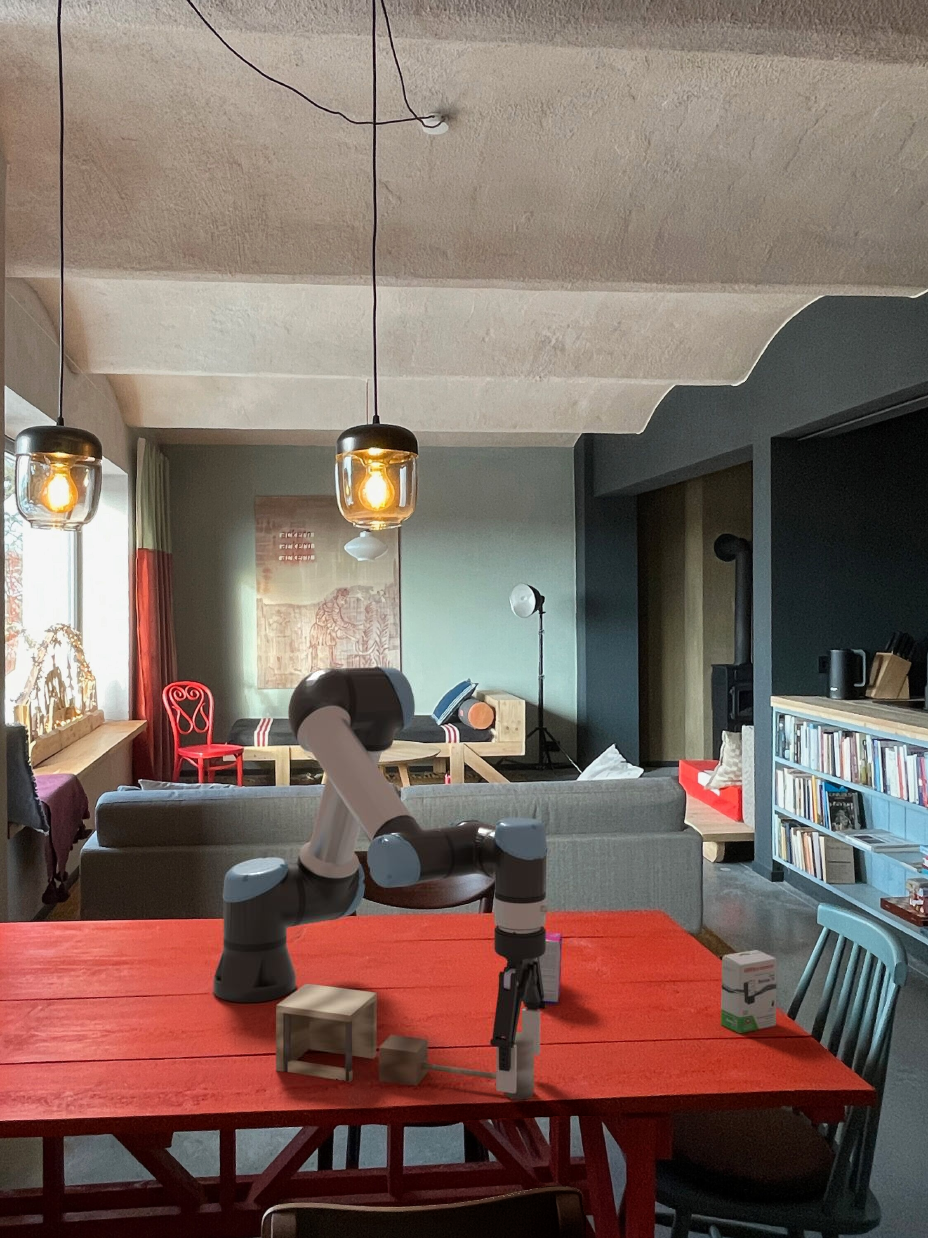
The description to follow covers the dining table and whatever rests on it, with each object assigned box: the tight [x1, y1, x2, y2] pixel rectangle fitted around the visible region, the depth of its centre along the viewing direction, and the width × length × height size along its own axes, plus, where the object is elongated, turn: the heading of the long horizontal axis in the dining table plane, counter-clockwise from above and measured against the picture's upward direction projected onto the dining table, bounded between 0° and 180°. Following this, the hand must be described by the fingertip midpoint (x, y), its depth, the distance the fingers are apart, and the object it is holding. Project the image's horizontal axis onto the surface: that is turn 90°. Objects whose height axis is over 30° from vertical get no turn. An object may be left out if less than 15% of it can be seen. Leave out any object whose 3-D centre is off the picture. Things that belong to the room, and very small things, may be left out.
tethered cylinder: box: [378, 1031, 535, 1101], centre depth 155 cm, size 23×5×8 cm, turn 73°
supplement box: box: [539, 931, 563, 1006], centre depth 190 cm, size 6×6×12 cm
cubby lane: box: [275, 983, 378, 1083], centre depth 162 cm, size 12×10×10 cm
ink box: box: [720, 949, 778, 1034], centre depth 178 cm, size 9×5×12 cm, turn 117°
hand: (519, 1071), depth 152 cm, fingers open, 13 cm apart
